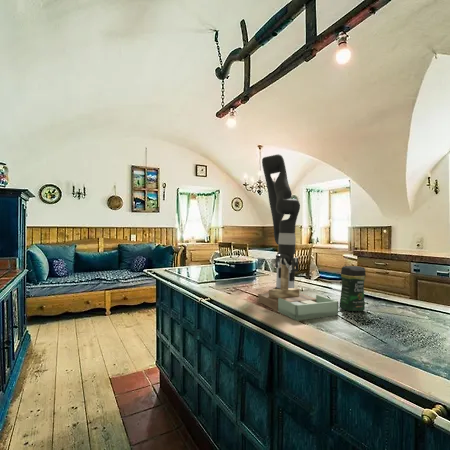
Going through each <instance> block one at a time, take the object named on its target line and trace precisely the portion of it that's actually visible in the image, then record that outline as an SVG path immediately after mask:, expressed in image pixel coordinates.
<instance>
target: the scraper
mask: <svg viewBox="0 0 450 450" xmlns="http://www.w3.org/2000/svg"><path fill="white" fill-rule="evenodd" d="M288 277H289V269H288V268H287V266H286V265H283V264H282V265H281V288H276V289H275V288H274V289H268V293H269V297H271V298H279V297H291V296H299V293H300V288H297V287H294V288H288Z"/></svg>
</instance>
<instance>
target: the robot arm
mask: <svg viewBox="0 0 450 450" xmlns="http://www.w3.org/2000/svg"><path fill="white" fill-rule="evenodd" d="M261 165H262V170H263V174H264V179H265V183H266V187H267V193H268V195H267V196H268V202H269V207H270V213H271V217H272V218H271V219H272V226H273V236H274V242H275V244H276V245H278V246H277V247H278V249H277V254H276V255H275V268H276V283H275V287H276V289H281V265H282V264H283V265H286V266H287V268H288V269H289V277H288V288H295V280H296V278H295V277H296V273H298V272H299V258H298V257H294V256H295V255H296V247H297V245H296V241H297V239H296V223H297V221H298V220H297V219H298V216H299V212H300V209H301V203H300V201H299V200H298V199H296V198H292V196H293V195H292V190H291V188H290V184H289V180H288V176H287V175H288V174H287V169H286V164H285V159H284V158H283V155H282V154H279V153H278V154H273V155H268V156H265V157H263V158H262V159H261ZM278 173H279V174H278ZM274 174H278V176H277V178H276V179H275V181H274V179H273V178H272V175H274ZM285 215H289V217H288V218H286V219H283V218H284V217H285Z"/></svg>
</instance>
